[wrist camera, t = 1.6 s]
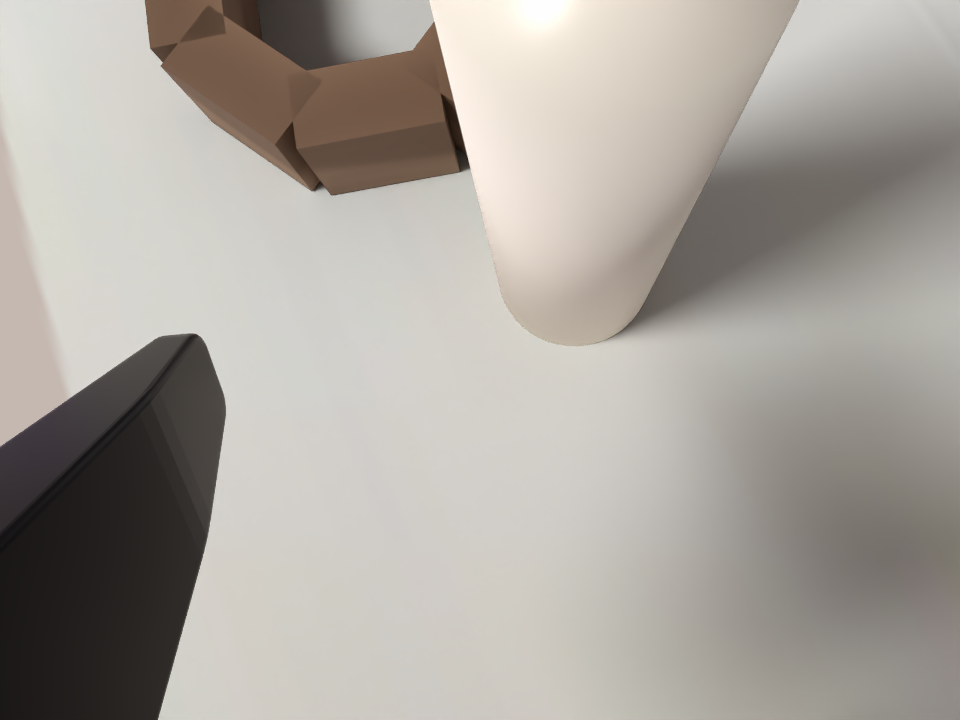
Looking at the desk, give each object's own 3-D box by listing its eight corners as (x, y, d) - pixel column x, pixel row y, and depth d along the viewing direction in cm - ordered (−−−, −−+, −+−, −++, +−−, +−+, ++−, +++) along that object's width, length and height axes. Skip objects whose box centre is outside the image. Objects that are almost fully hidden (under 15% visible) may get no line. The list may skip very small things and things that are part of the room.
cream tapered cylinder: (593, 376, 20) (667, 190, 8) (468, 289, 21) (340, -21, 8) (681, 252, 21) (895, -130, 8) (555, 170, 21) (565, -314, 8)
